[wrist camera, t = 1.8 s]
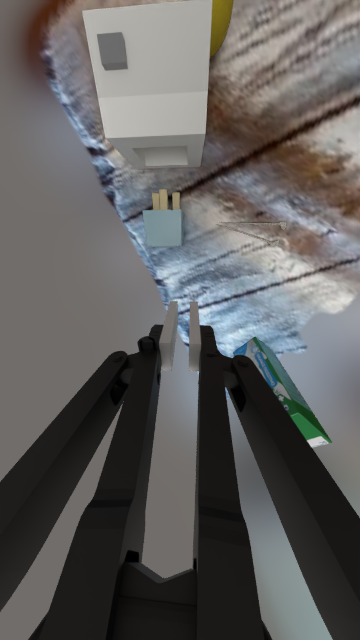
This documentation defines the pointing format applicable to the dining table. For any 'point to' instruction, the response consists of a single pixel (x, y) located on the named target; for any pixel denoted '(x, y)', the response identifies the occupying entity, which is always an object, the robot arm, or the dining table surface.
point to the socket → (153, 79)
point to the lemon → (219, 23)
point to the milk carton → (285, 391)
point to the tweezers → (282, 224)
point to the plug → (164, 221)
